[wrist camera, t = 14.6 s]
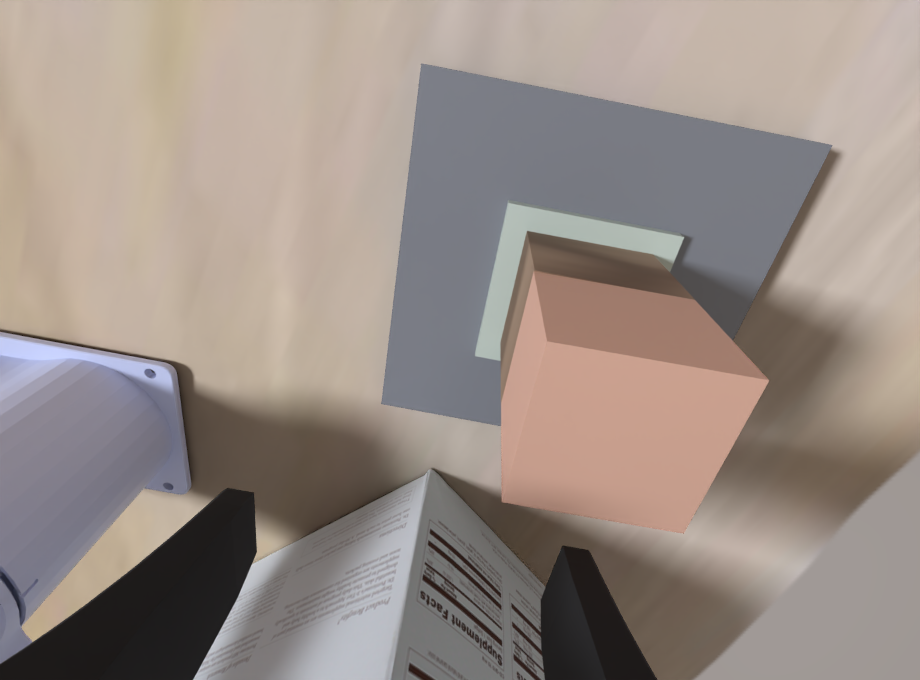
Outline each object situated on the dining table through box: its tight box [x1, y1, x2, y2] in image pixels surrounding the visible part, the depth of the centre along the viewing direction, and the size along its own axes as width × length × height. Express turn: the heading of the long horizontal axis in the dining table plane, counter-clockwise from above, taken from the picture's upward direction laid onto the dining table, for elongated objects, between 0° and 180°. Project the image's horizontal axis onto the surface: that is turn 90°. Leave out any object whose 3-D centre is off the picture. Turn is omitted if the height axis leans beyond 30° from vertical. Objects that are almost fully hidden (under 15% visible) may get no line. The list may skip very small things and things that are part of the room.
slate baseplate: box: [381, 63, 832, 426], centre depth 18 cm, size 13×13×2 cm
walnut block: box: [500, 231, 695, 402], centre depth 16 cm, size 4×4×4 cm
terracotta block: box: [501, 271, 769, 534], centre depth 12 cm, size 4×4×4 cm
